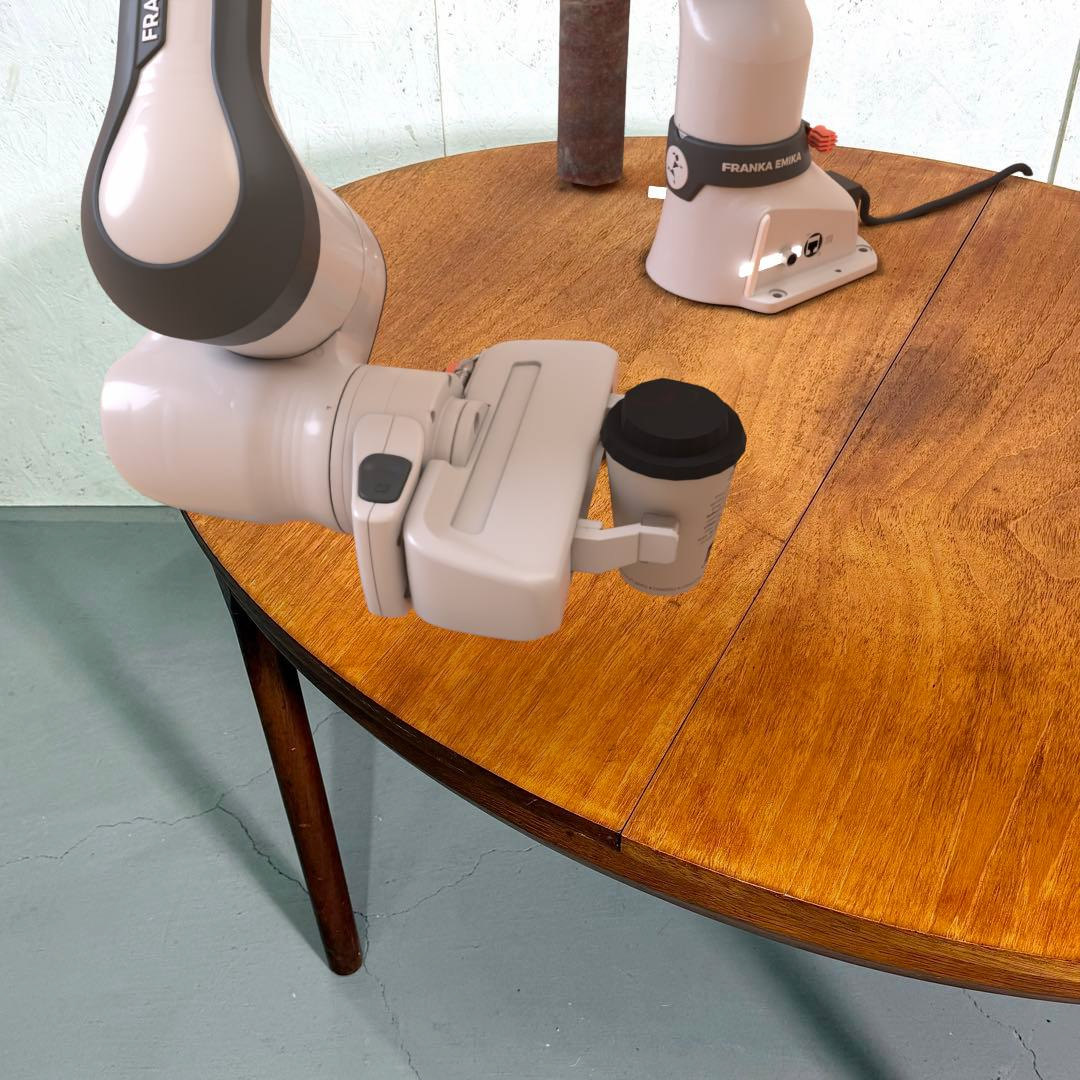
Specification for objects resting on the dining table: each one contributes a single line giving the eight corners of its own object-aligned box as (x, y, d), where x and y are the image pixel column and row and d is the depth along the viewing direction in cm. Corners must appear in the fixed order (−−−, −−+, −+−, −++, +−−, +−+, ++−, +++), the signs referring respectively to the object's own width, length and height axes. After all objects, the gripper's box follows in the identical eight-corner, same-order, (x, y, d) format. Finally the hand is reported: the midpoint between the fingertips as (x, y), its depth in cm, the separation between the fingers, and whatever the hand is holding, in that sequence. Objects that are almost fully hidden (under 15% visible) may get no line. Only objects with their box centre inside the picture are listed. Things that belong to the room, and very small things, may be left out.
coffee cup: (755, 579, 55) (782, 421, 49) (647, 632, 52) (661, 472, 46) (672, 507, 60) (687, 353, 53) (569, 552, 57) (571, 396, 50)
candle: (617, 198, 115) (625, -2, 102) (550, 193, 116) (551, -6, 103) (626, 170, 121) (636, -23, 108) (563, 165, 122) (565, -26, 109)
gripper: (467, 394, 64) (697, 418, 62) (361, 641, 49) (660, 683, 47) (461, 301, 60) (708, 323, 58) (343, 539, 45) (670, 581, 43)
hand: (686, 487), depth 52 cm, fingers closed on coffee cup, 7 cm apart
